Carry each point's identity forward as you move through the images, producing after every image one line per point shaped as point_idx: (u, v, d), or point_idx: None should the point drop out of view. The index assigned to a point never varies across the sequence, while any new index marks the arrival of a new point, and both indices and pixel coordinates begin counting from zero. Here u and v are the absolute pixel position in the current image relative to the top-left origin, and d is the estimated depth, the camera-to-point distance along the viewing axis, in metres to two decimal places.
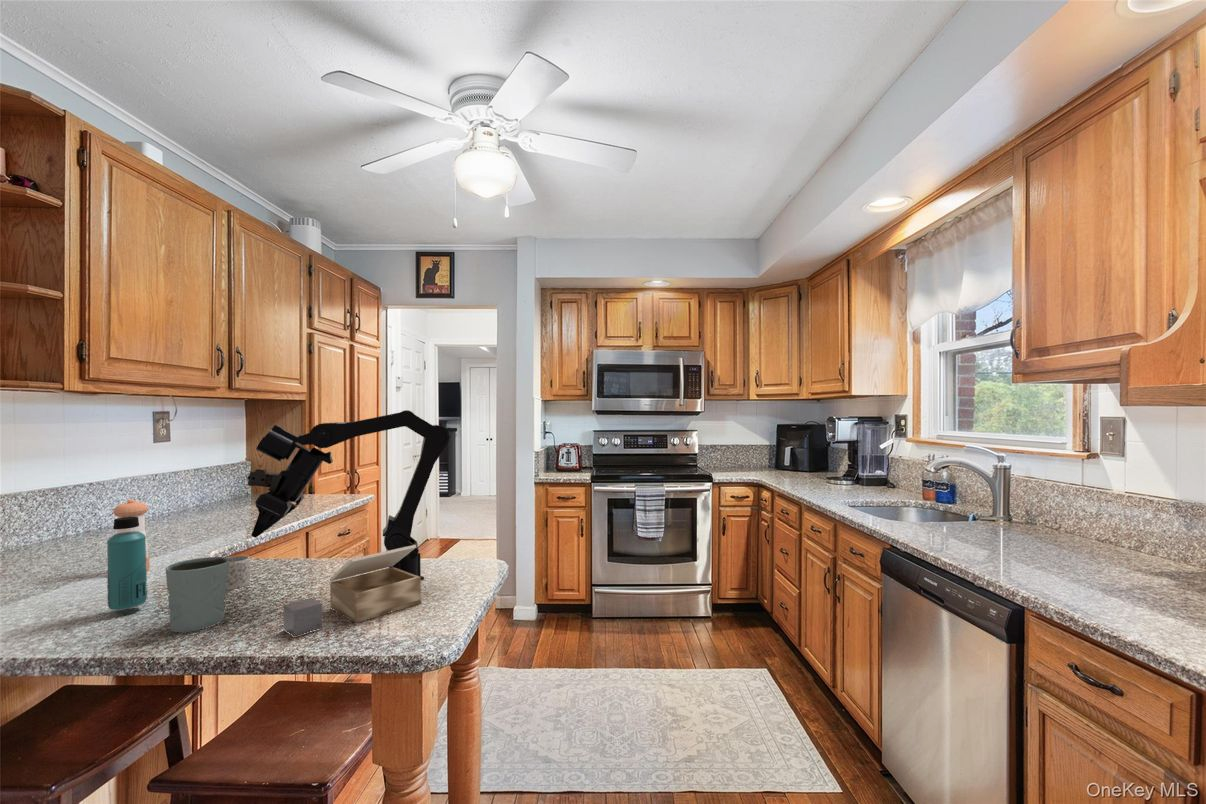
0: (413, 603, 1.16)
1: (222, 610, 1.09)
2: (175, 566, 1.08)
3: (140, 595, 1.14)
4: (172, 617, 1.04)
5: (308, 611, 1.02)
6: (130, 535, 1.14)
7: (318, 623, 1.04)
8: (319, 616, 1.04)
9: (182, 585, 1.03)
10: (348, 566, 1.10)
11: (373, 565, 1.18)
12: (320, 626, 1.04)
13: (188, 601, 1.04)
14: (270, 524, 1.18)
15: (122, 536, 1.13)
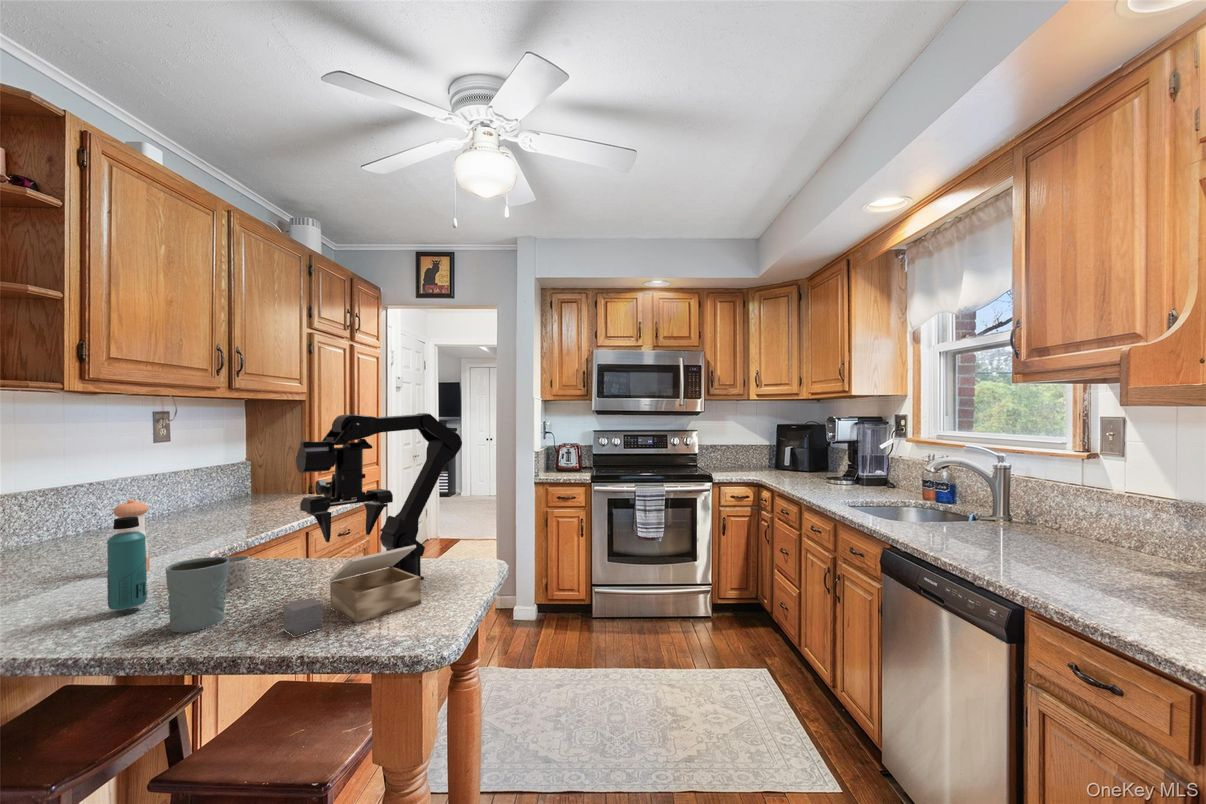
0: (413, 603, 1.16)
1: (222, 610, 1.09)
2: (175, 566, 1.08)
3: (140, 595, 1.14)
4: (172, 617, 1.04)
5: (308, 611, 1.02)
6: (130, 535, 1.14)
7: (318, 623, 1.04)
8: (319, 616, 1.04)
9: (182, 585, 1.03)
10: (348, 566, 1.10)
11: (373, 565, 1.18)
12: (320, 626, 1.04)
13: (188, 601, 1.04)
14: (324, 525, 1.17)
15: (122, 536, 1.13)
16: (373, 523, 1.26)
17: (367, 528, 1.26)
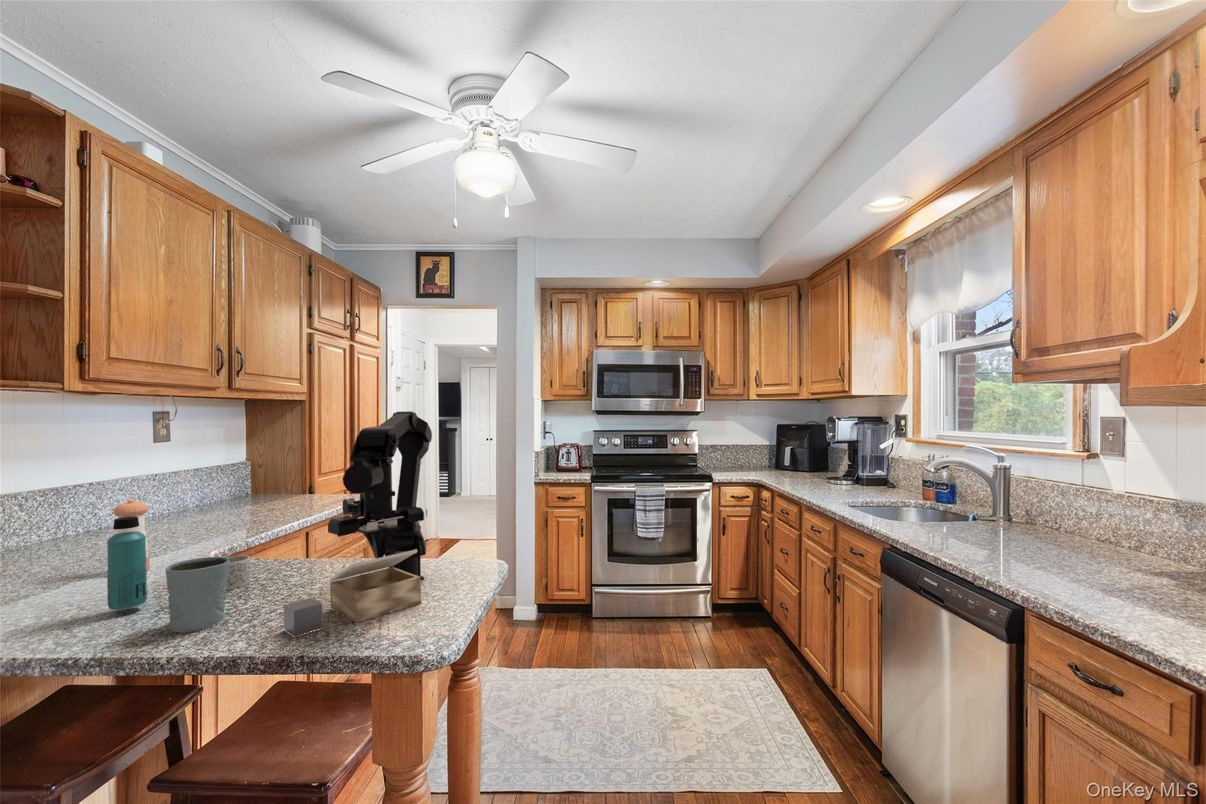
0: (413, 603, 1.16)
1: (222, 610, 1.09)
2: (175, 566, 1.08)
3: (140, 595, 1.14)
4: (172, 617, 1.04)
5: (308, 611, 1.02)
6: (130, 535, 1.14)
7: (318, 623, 1.04)
8: (319, 616, 1.04)
9: (182, 585, 1.03)
10: (349, 570, 1.10)
11: (373, 567, 1.17)
12: (320, 626, 1.04)
13: (188, 601, 1.04)
14: (375, 543, 1.13)
15: (122, 536, 1.13)
16: (385, 547, 1.15)
17: None
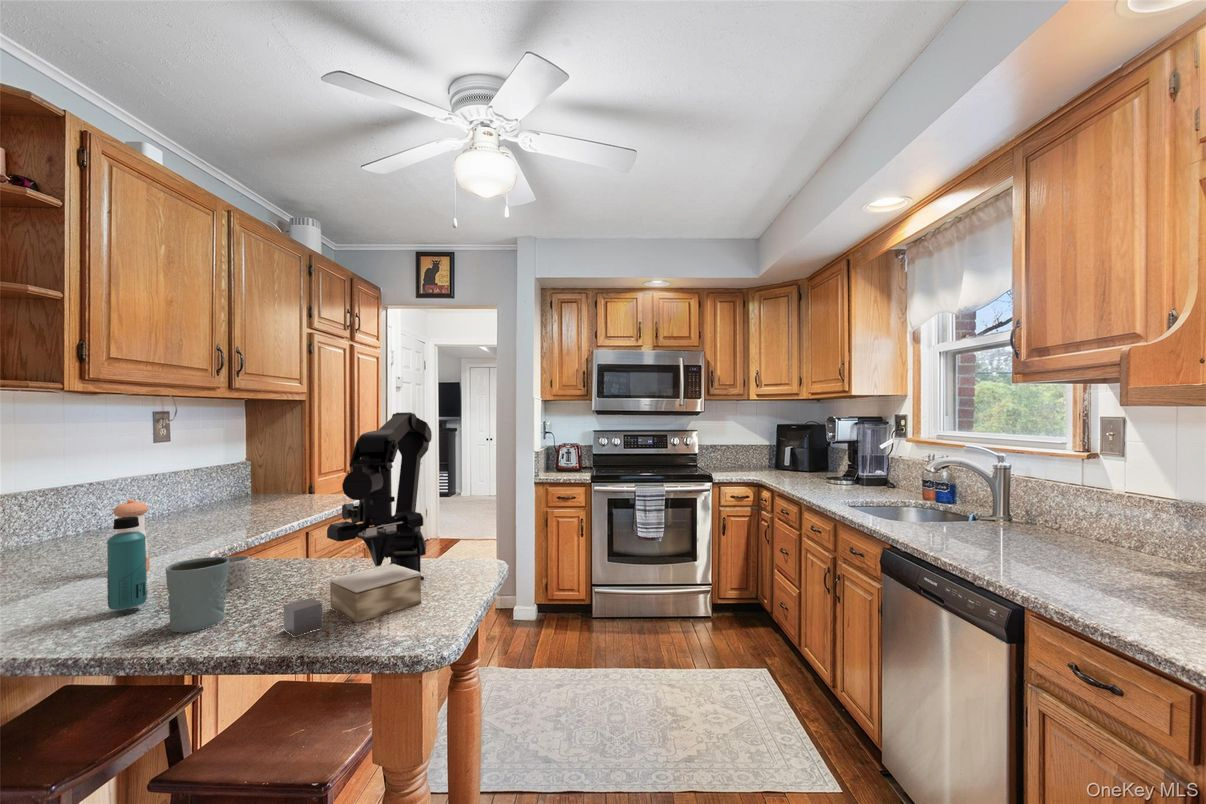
0: (413, 603, 1.16)
1: (222, 610, 1.09)
2: (175, 566, 1.08)
3: (140, 595, 1.14)
4: (172, 617, 1.04)
5: (308, 611, 1.02)
6: (130, 535, 1.14)
7: (318, 623, 1.04)
8: (319, 616, 1.04)
9: (182, 585, 1.03)
10: None
11: None
12: (320, 626, 1.04)
13: (188, 601, 1.04)
14: (374, 549, 1.13)
15: (122, 536, 1.13)
16: (384, 553, 1.15)
17: None
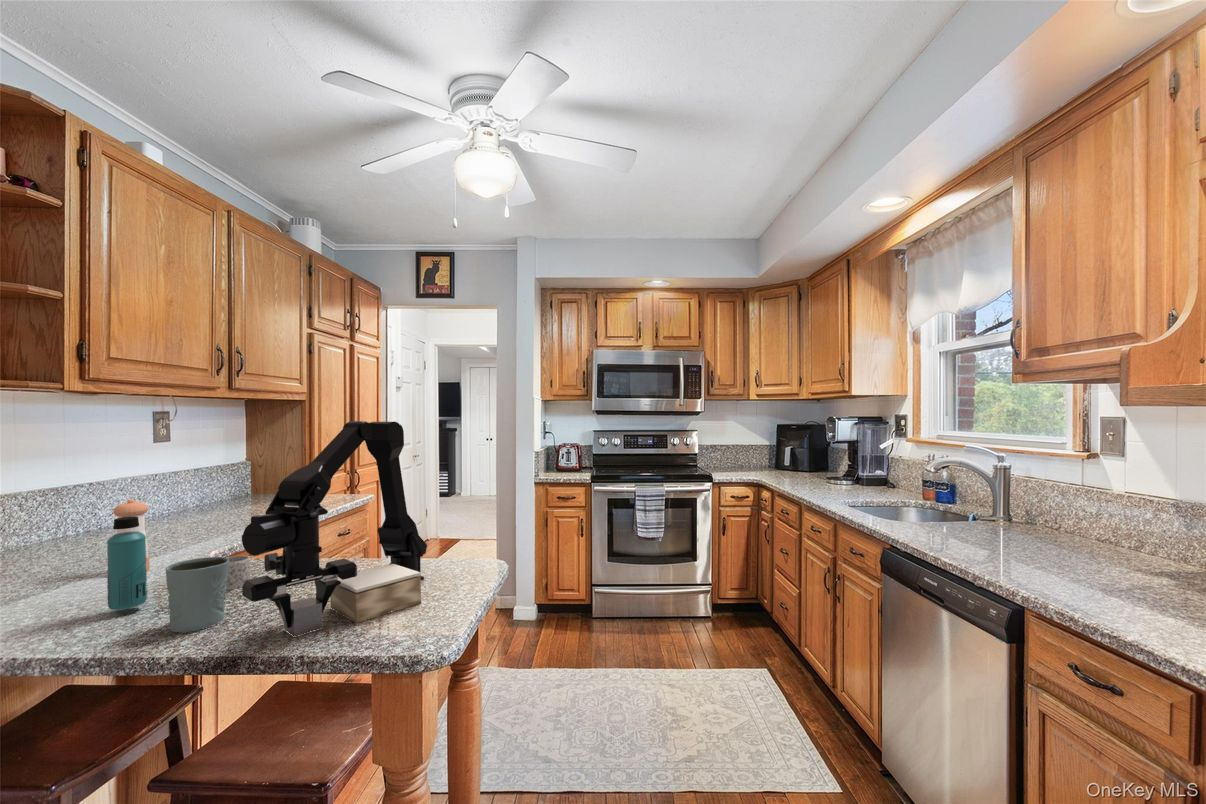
0: (413, 603, 1.16)
1: (222, 610, 1.09)
2: (175, 566, 1.08)
3: (140, 595, 1.14)
4: (172, 617, 1.04)
5: (308, 610, 1.02)
6: (130, 535, 1.14)
7: (318, 622, 1.04)
8: (319, 615, 1.04)
9: (182, 585, 1.03)
10: None
11: None
12: (320, 625, 1.04)
13: (188, 601, 1.04)
14: (282, 610, 1.00)
15: (122, 536, 1.13)
16: (323, 605, 1.05)
17: None
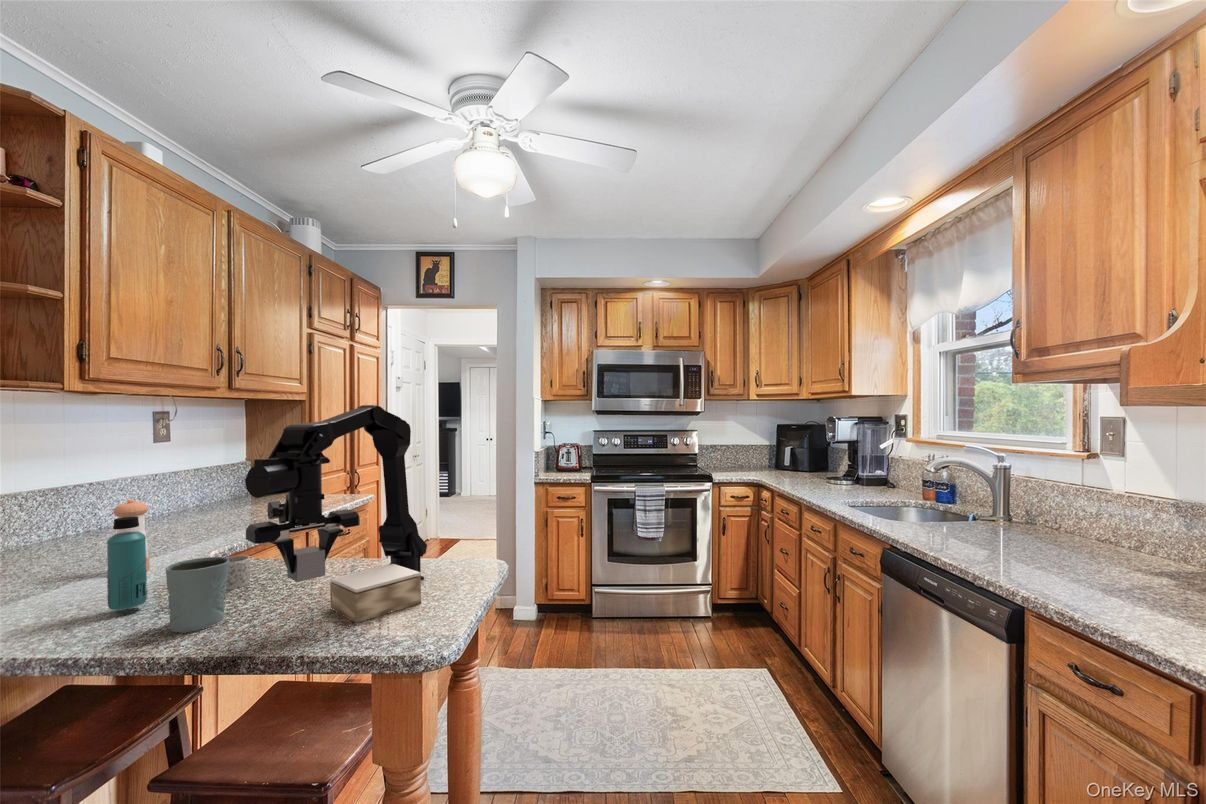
0: (413, 603, 1.16)
1: (222, 610, 1.09)
2: (175, 566, 1.08)
3: (140, 595, 1.14)
4: (172, 617, 1.04)
5: (311, 556, 1.03)
6: (130, 535, 1.14)
7: (321, 569, 1.04)
8: (322, 562, 1.05)
9: (182, 585, 1.03)
10: None
11: None
12: (323, 572, 1.05)
13: (188, 601, 1.04)
14: (286, 555, 1.01)
15: (122, 536, 1.13)
16: (326, 553, 1.06)
17: None
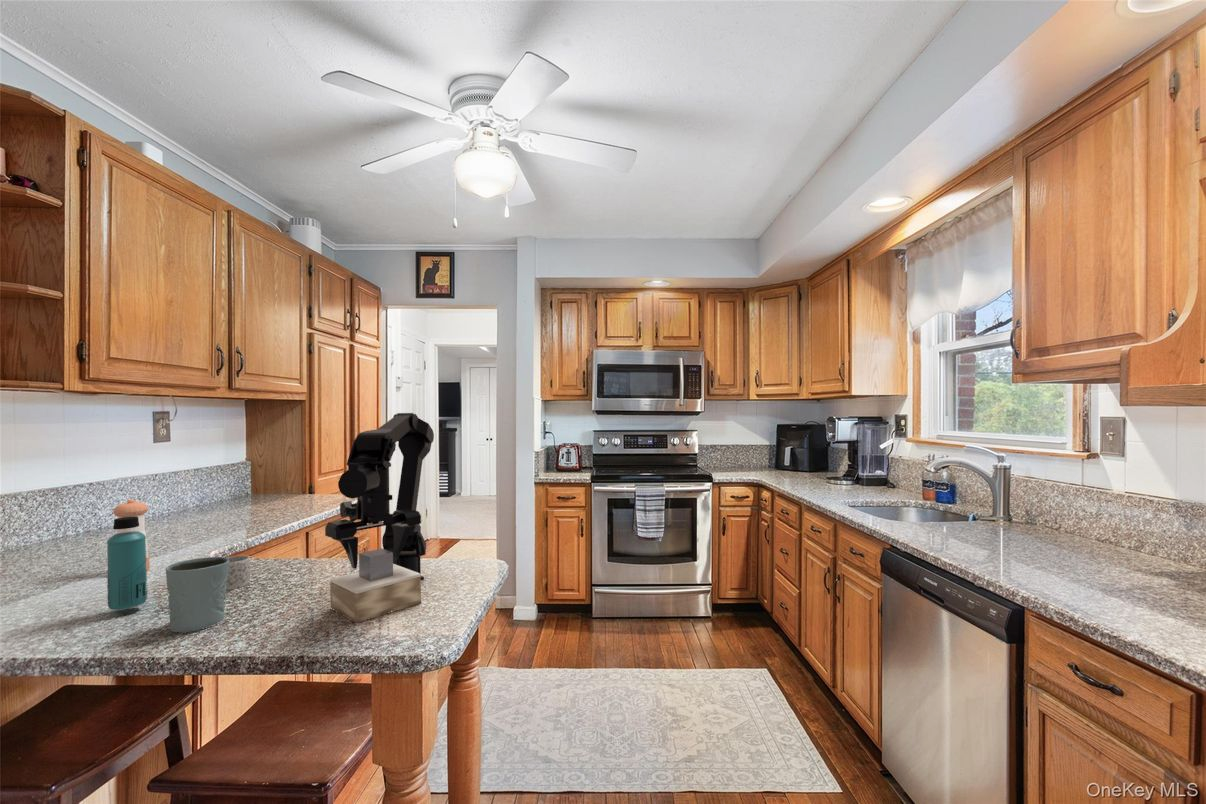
0: (413, 603, 1.16)
1: (222, 610, 1.09)
2: (175, 566, 1.08)
3: (140, 595, 1.14)
4: (172, 617, 1.04)
5: (382, 558, 1.15)
6: (130, 535, 1.14)
7: (390, 570, 1.16)
8: (390, 563, 1.16)
9: (182, 585, 1.03)
10: None
11: None
12: (391, 572, 1.16)
13: (188, 601, 1.04)
14: (351, 551, 1.11)
15: (122, 536, 1.13)
16: (401, 546, 1.19)
17: (395, 551, 1.19)
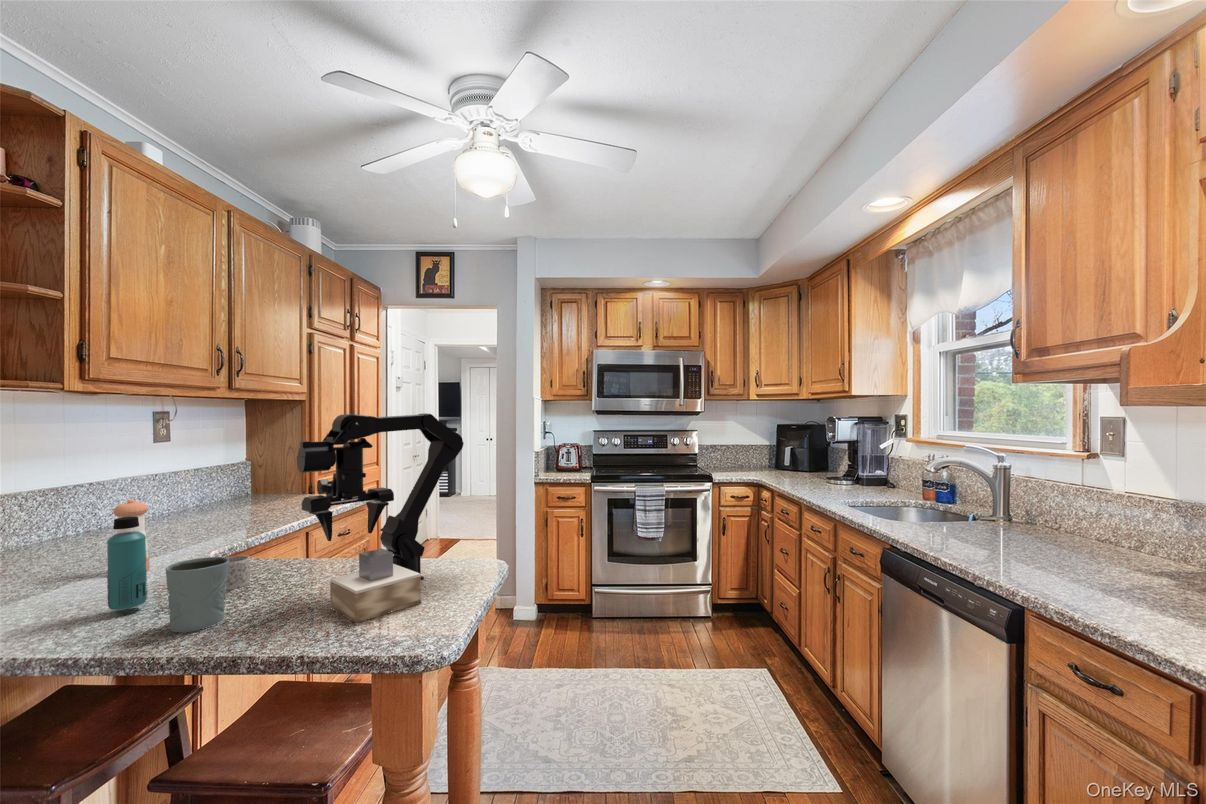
0: (413, 603, 1.16)
1: (222, 610, 1.09)
2: (175, 566, 1.08)
3: (140, 595, 1.14)
4: (172, 617, 1.04)
5: (382, 558, 1.15)
6: (130, 535, 1.14)
7: (390, 570, 1.16)
8: (390, 563, 1.16)
9: (182, 585, 1.03)
10: None
11: None
12: (391, 572, 1.16)
13: (188, 601, 1.04)
14: (325, 524, 1.18)
15: (122, 536, 1.13)
16: (375, 521, 1.27)
17: (369, 526, 1.27)
